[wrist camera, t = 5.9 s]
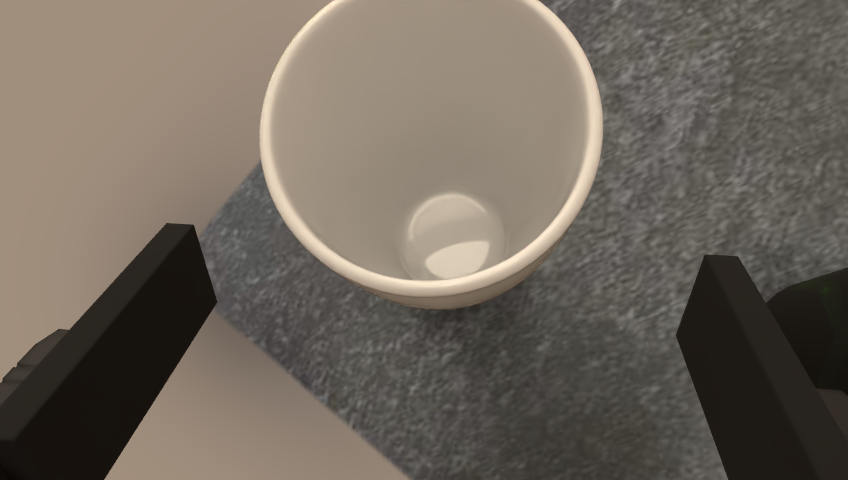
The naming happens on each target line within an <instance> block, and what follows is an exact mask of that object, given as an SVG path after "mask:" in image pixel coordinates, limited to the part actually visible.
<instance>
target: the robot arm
mask: <svg viewBox="0 0 848 480" xmlns="http://www.w3.org/2000/svg"><path fill="white" fill-rule="evenodd" d="M216 303H217V300H216V296H215V293H214V290H213V287H212V283H211V280H210V277H209V273H208V270H207V267H206V264H205V260H204V257H203V254H202V250H201V247H200V244H199V241H198V237H197V234H196V231H195V227H194V225H189V224H188V225H187V224H172V223H171V224H170V223H166V225H165V226H164V227H163V228H162V229H161V230H160V231H159V232H158V233H157V234H156V235H155V237H154V238H153V239H152V240H151V241H150V242H149V243H148V244H147V245H146V246H145V248H144V249H143V250H142V251H141V252H140V253H139V254H138V255H137V256H136V257H135V259H134V260H133V261H132V262H131V263H130V264H129V265H128V266H127V267H126V269H124V271H123V272H122V273H121V274H120V275H119V276H118V277H117V278H116V279H115V280H114V282H113V283H112V284H111V285H110V286H109V287H108V288H107V289H106V290H105V291H104V293H103V294H102V295H101V296H100V297H99V298H98V299H97V300H96V301H95V302H94V303H93V305H92V306H91V307H90V308H89V309H88V310H87V311H86V312H85V313H84V314H83V316H82V317H81V318H80V319H79V320H78V321H77V322H76V323H75V324H74V326H73V327H72V328H71V329H70V330H63V329H58V330H57V331H55V332H54V333H52V334H51V335H49V336H47V337H46V338H45V339H43V340H41V341H40V342H38V343H37V344H35V345H34V346H33V347H32V348H31V349H30V350H29V351H28V352H27V354H26V355H25V356H24V357H23V358H22V359H21V360H20V361H19V362H18V363H17V367H13V368H12V369H11V370H10V371H9V372H8V374H6V376H5V377H4V378H3V381H2V383H0V480H104V479H105V477H106V476H107V474H108V473H109V471H110V470H111V468H112V466H113V465H114V463H115V462H116V460H117V459H118V457H119V456H120V454H121V452H122V451H123V449H124V448H125V446H126V444H127V443H128V441H129V440H130V438H131V436H132V435H133V434H134V432H135V430H136V429H137V427H138V425H139V424H140V422H141V421H142V419H143V417H144V416H145V415H146V413H147V412H148V410H149V408H150V407H151V405H152V404H153V402H154V401H155V399H156V397H157V396H158V394H159V393H160V391H161V389H162V388H163V386H164V385H165V383H166V382H167V380H168V378H169V377H170V375H171V374H172V372H173V371H174V369H175V368H176V366H177V364H178V363H179V361H180V360H181V358H182V357H183V355H184V353H185V352H186V350H187V349H188V347H189V346H190V344H191V342H192V341H193V339H194V337H195V336H196V335H197V333H198V331H199V330H200V328H201V327H202V325H203V324H204V322H205V320H206V319H207V317H208V316H209V314H210V313H211V311H212V309H213V308H214V306H215V305H216ZM676 337H677V340H678V343H679V345H680V348H681V351H682V354H683V356H684V359H685V362H686V364H687V367H688V370H689V373H690V375H691V378H692V381H693V384H694V386H695V389H696V392H697V395H698V397H699V400H700V403H701V406H702V408H703V411H704V414H705V416H706V419H707V422H708V425H709V427H710V430H711V433H712V436H713V438H714V441H715V444H716V447H717V449H718V452H719V455H720V458H721V460H722V463H723V466H724V469H725V471H726V474H727V477H728V479H729V480H848V396H847V395H846V394H845V393H844V392H843V391H841V390H829V389H817V388H816V387H815V386H814V384H813V382H812V381H811V379H810V377H809V376H808V374H807V372H806V371H805V369H804V367H803V366H802V364H801V362H800V360H799V359H798V357H797V355H796V354H795V352H794V350H793V349H792V347H791V345H790V344H789V342H788V340H787V339H786V337H785V335H784V333H783V332H782V330H781V328H780V327H779V325H778V323H777V322H776V320H775V318H774V317H773V315H772V313H771V312H770V310H769V308H768V306H767V305H766V303H765V301H764V300H763V298H762V296H761V295H760V293H759V291H758V290H757V288H756V286H755V285H754V283H753V281H752V279H751V278H750V276H749V274H748V273H747V271H746V269H745V268H744V266H743V264H742V263H741V261H740V259H739V258H738V256H722V255H705V256H704V258H703V261H702V264H701V267H700V270H699V272H698V275H697V278H696V281H695V283H694V286H693V289H692V292H691V295H690V297H689V300H688V303H687V306H686V309H685V311H684V314H683V317H682V320H681V323H680V325H679V328H678V331H677V334H676Z"/></svg>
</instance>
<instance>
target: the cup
mask: <svg viewBox="0 0 848 480" xmlns="http://www.w3.org/2000/svg"><path fill="white" fill-rule="evenodd" d="M766 305H767V306H768V308H769V310H770V312H771V313H772V315H773V317H774V318H775V320H776V322H777V323H778V325H779V327H780V328H781V330H782V332H783V333H784V335H785V337H786V339H787V340H788V342H789V344H790V345H791V347H792V349H793V350H794V352H795V354H796V355H797V357H798V359H799V360H800V362H801V364H802V366H803V367H804V369H805V371H806V372H807V374H808V376H809V377H810V379H811V381H812V382H813V384H814V386H815V387H816V388H817V389H829V390H841V391H843V392H844V393H845V394H846V395H847V396H848V268H845V269H842V270H839V271H836V272H833V273H829V274H826V275H823V276H820V277H817V278H814V279H811V280H808V281H805V282H802V283H798V284H795V285H792V286H790V287H788V288H786V289H784V290H782V291H780V292H779V293H777V294H776V295H775V296H774V297H773V298H772V299H770V300H769V301H768V302H767V303H766Z"/></svg>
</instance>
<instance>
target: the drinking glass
mask: <svg viewBox="0 0 848 480" xmlns="http://www.w3.org/2000/svg"><path fill="white" fill-rule="evenodd" d="M260 121H261V122H260V154H261V161H262V168H263V172H264V176H265V180H266V183H267V186H268V189H269V192H270V195H271V197H272V200H273V202H274V204H275V206H276V208H277V210H278V212H279V214H280V215H281V217H282V219H283V220H284V222H285V224H286V225H287V227H288V228H289V229H290V231H291V232H292V233H293V234H294V236H295V237H296V238H297V239H298V241H299V242H300V243H301V244H302V245H303V246H304V247H305V248H306V249H307V250H308V251H309V252H310V253H311V254H312V255H314V256H315V257H316V258H317V259H318V260H319V261H321V262H322V263H323V264H325V265H326V266H328V267H329V268H331V269H332V270H333V271H335V272H337V273H338V274H339V275H341V276H342V277H344V278H345V279H347V280H348V281H350V282H351V283H353V284H355V285H356V286H358V287H360V288H362V289H364V290H365V291H367V292H369V293H371V294H374V295H376V296H378V297H381V298H383V299H385V300H388V301H391V302H394V303H398V304H401V305H404V306H409V307H414V308H420V309H429V310H448V309H459V308H464V307H469V306H473V305H476V304H480V303H483V302H486V301H488V300H491V299H493V298H495V297H497V296H499V295H501V294H503V293H505V292H507V291H509V290H510V289H512V288H513V287H515V286H516V285H518V284H519V283H521V282H522V281H523V280H524V279H526V278H527V277H528V276H529V275H530V274H532V273H533V272H534V271H535V270H536V269H537V268H538V267H539V266H540V265H541V264H542V263H543V262H544V261H545V260H546V259H547V258H548V256H549V255H550V254H551V253H552V252H553V250H554V249H555V248H556V247H557V245H558V244H559V243H560V241H561V240H562V238H563V237H564V235H565V234H566V232H567V231H568V229H569V228H570V226H571V225H572V223H573V221H574V219H575V218H576V216H577V215H578V213H579V211H580V210H581V208H582V206H583V204H584V202H585V200H586V198H587V197H588V195H589V192H590V190H591V187H592V184H593V182H594V179H595V176H596V173H597V169H598V165H599V162H600V156H601V150H602V141H603V112H602V105H601V99H600V93H599V90H598V86H597V82H596V79H595V76H594V73H593V71H592V68H591V65H590V63H589V61H588V59H587V57H586V55H585V53H584V51H583V49H582V48H581V46H580V45H579V43H578V42H577V40H576V39H575V37H574V36H573V34H572V33H571V32H570V31H569V29H568V28H567V27H566V26H565V24H564V23H563V22H562V21H561V20H560V19H559V18H558V17H557V16H556V15H555V14H554V13H553V12H552V11H551V10H550V9H548V8H547V7H546V6H545V5H544V4H542V3H541V2H540V1H538V0H333V1H332V2H330V3H329V4H328V5H326V6H325V7H324V8H323V9H322V10H320V11H319V12H318V13H317V14H316V15H315V16H314V17H312V18H311V19H310V20H309V21H308V22H307V23H306V24H305V25H304V27H303V28H302V29H301V30H300V31H299V33H297V35H296V36H295V37H294V39H293V40H292V41H291V43H290V44H289V45H288V47H287V49H286V50H285V52H284V53H283V55H282V57H281V58H280V60H279V62H278V64H277V66H276V68H275V70H274V72H273V74H272V77H271V80H270V83H269V85H268V88H267V91H266V95H265V99H264V102H263V107H262V114H261V120H260Z"/></svg>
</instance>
